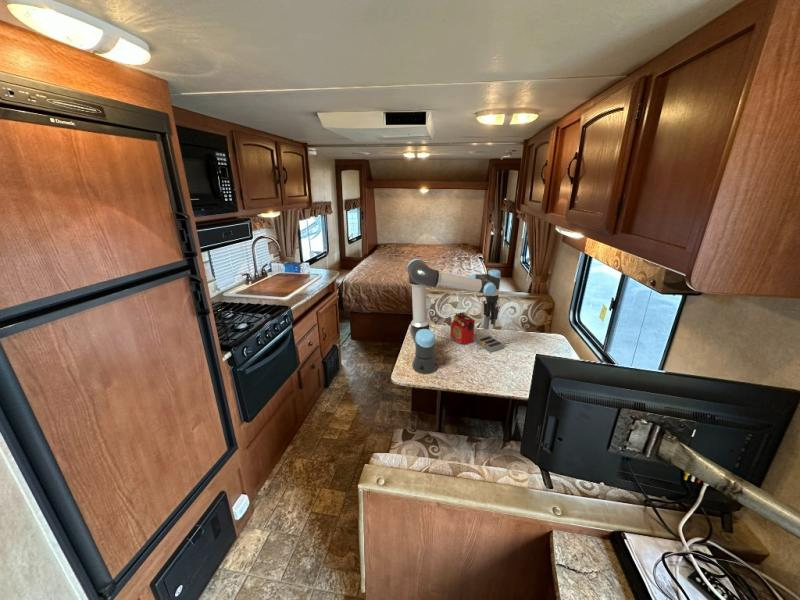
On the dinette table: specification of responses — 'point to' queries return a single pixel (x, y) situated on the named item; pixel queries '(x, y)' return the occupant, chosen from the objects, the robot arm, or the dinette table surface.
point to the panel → (487, 321)
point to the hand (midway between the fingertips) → (489, 326)
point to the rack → (490, 343)
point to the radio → (462, 328)
